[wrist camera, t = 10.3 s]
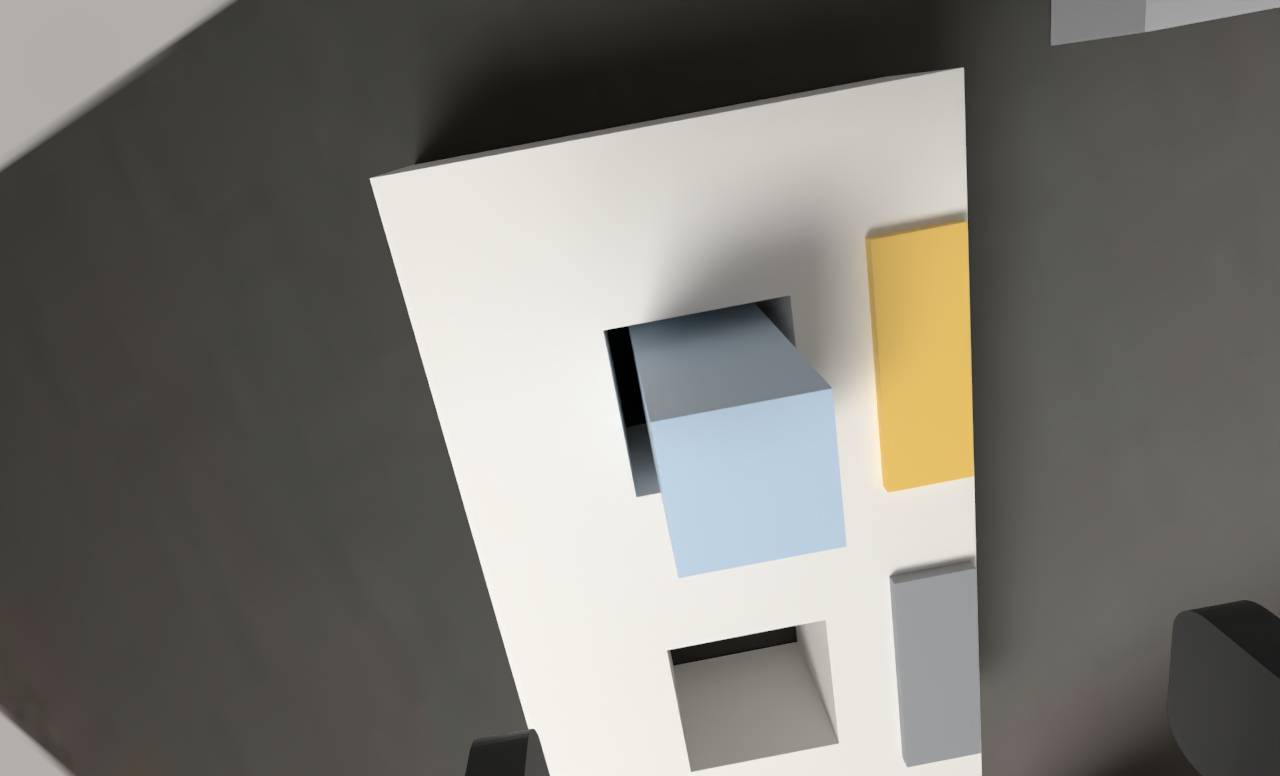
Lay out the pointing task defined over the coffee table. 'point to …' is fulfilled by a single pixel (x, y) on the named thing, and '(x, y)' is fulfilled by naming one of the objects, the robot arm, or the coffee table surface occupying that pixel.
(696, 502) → the plug
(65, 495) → the coffee table surface
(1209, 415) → the coffee table surface
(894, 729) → the port panel
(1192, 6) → the holster
